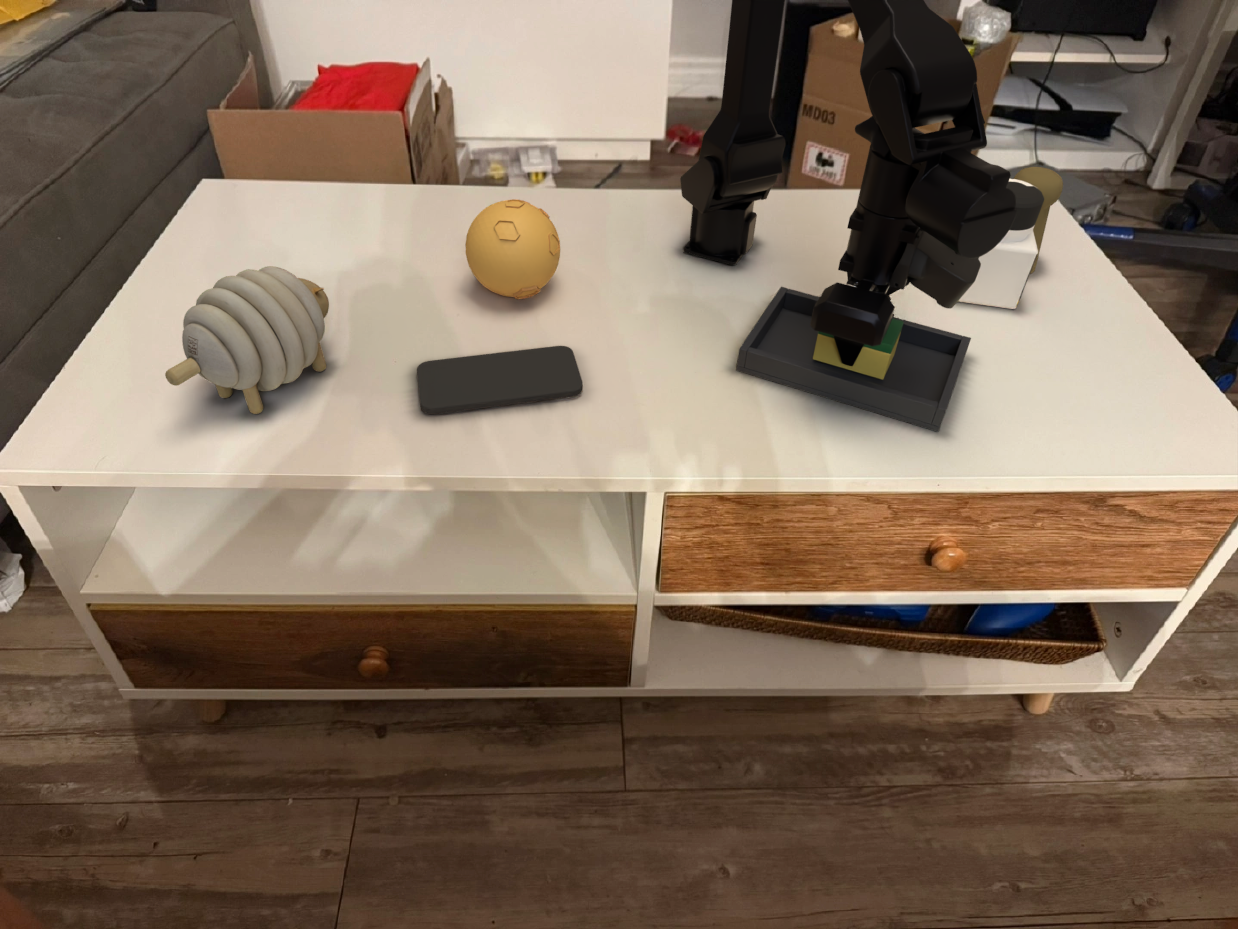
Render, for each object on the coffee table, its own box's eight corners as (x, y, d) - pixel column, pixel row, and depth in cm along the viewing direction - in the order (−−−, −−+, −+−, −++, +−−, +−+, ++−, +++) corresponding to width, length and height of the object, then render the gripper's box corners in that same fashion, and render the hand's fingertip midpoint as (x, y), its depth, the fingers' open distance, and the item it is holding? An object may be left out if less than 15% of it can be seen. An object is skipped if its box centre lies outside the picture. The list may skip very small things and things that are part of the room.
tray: (735, 370, 86) (739, 348, 85) (777, 307, 95) (781, 286, 93) (938, 432, 80) (946, 410, 79) (963, 359, 89) (971, 337, 87)
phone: (415, 361, 85) (570, 343, 87) (417, 368, 85) (570, 350, 88) (420, 410, 79) (585, 389, 82) (421, 417, 80) (585, 396, 83)
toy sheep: (372, 356, 87) (352, 254, 79) (242, 457, 76) (204, 351, 68) (290, 324, 90) (263, 224, 82) (155, 417, 79) (109, 312, 71)
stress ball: (474, 319, 92) (465, 231, 85) (466, 270, 99) (457, 185, 92) (569, 310, 93) (567, 223, 86) (554, 262, 100) (552, 178, 93)
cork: (1013, 245, 106) (1046, 156, 98) (1047, 271, 102) (1084, 180, 94) (971, 253, 104) (1001, 163, 97) (1003, 279, 100) (1037, 187, 93)
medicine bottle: (1016, 310, 96) (1057, 207, 87) (948, 301, 97) (982, 198, 88) (1009, 276, 101) (1047, 176, 92) (945, 268, 102) (977, 167, 93)
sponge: (812, 359, 87) (819, 325, 84) (825, 335, 90) (832, 302, 87) (883, 380, 84) (893, 345, 82) (894, 355, 87) (904, 321, 85)
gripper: (968, 277, 67) (915, 432, 78) (1005, 180, 80) (955, 325, 90) (825, 241, 71) (794, 395, 81) (882, 154, 83) (848, 297, 94)
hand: (854, 351), depth 87 cm, fingers closed on sponge, 4 cm apart
